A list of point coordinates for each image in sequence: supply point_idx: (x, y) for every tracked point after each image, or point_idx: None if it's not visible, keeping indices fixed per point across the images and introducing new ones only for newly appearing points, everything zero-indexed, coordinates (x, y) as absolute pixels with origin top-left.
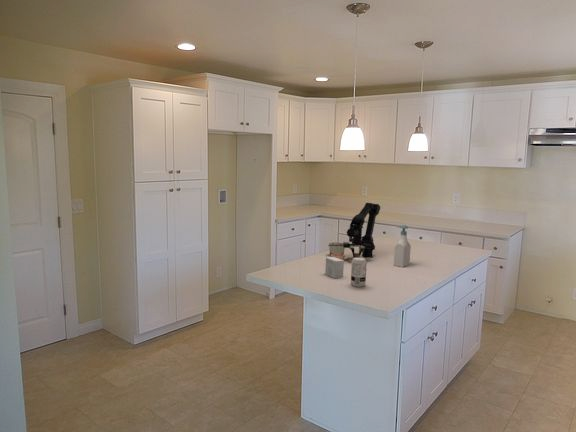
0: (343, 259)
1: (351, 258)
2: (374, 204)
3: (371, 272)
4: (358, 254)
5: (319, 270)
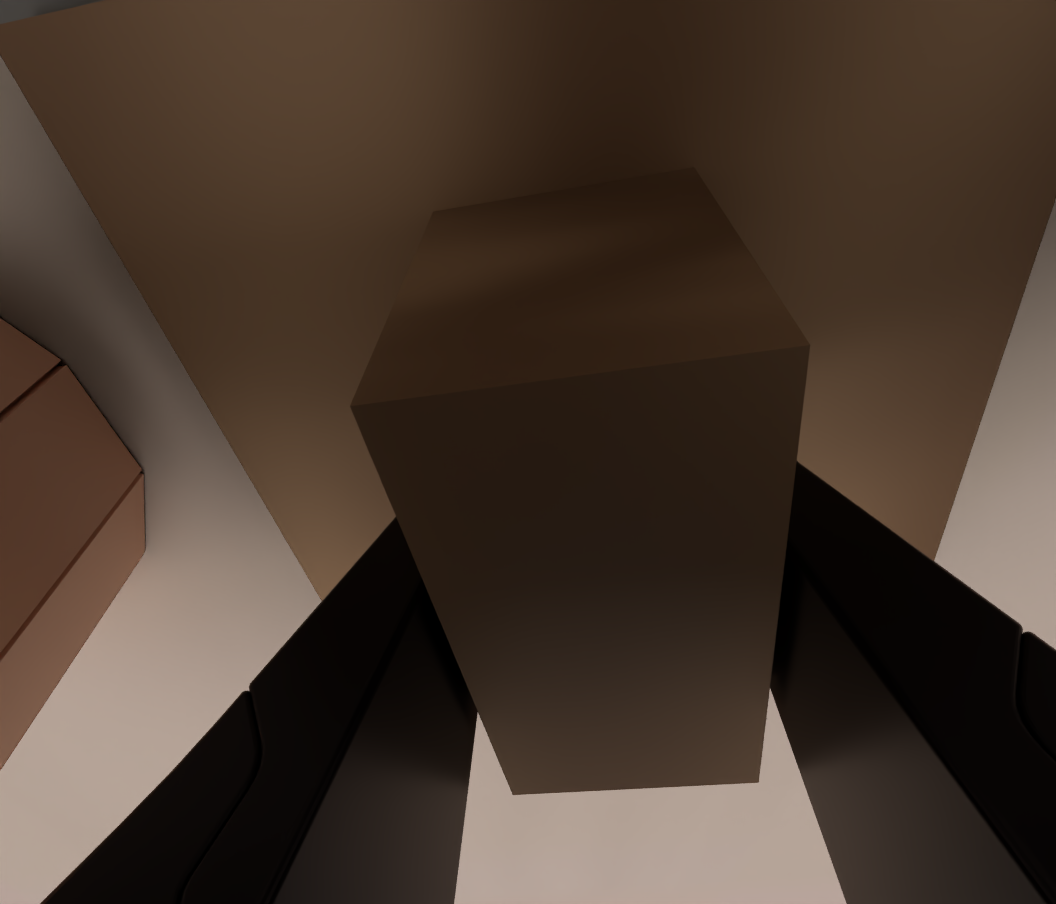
0: (84, 599)
1: (325, 157)
2: None
3: (775, 898)
4: (748, 681)
5: (26, 900)
